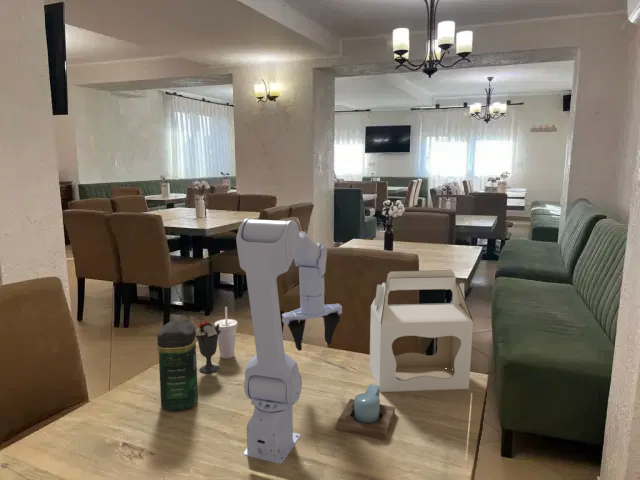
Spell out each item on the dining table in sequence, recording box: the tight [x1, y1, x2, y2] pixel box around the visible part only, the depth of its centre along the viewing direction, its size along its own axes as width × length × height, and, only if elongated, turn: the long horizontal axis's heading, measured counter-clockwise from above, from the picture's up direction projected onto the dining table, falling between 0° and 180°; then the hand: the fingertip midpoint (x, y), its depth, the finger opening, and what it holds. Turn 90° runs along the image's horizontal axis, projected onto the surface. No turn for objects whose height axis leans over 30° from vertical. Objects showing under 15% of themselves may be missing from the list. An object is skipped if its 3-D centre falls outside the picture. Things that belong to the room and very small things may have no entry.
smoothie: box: [213, 306, 239, 360], centre depth 128 cm, size 6×6×14 cm
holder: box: [335, 398, 396, 441], centre depth 97 cm, size 10×10×2 cm
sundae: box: [195, 315, 221, 375], centre depth 120 cm, size 7×7×15 cm
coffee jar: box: [156, 319, 199, 412], centre depth 104 cm, size 10×8×19 cm
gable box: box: [369, 269, 474, 393], centre depth 114 cm, size 22×13×28 cm, turn 94°
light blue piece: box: [354, 384, 381, 424], centre depth 98 cm, size 9×5×5 cm, turn 160°
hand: (313, 345), depth 111 cm, fingers open, 7 cm apart
